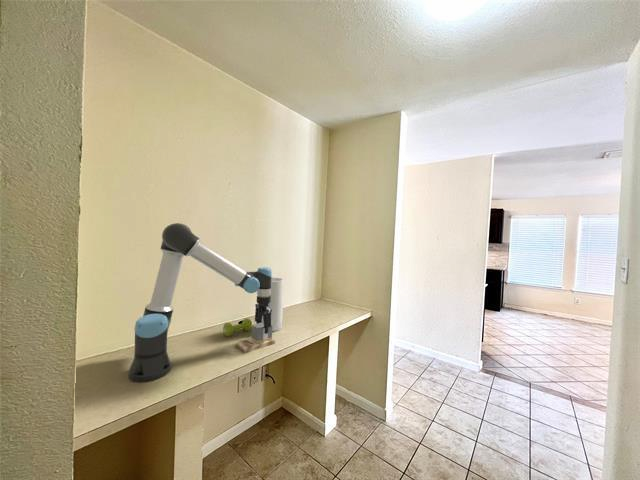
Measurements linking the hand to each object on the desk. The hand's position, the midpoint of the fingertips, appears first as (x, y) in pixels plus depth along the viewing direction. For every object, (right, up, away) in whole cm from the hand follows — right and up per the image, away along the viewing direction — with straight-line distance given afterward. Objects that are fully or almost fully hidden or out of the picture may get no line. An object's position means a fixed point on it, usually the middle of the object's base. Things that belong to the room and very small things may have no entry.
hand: (262, 336), depth 146 cm
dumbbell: (-18, -3, +12) cm, 22 cm away
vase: (0, -3, +22) cm, 23 cm away
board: (-3, -4, -2) cm, 5 cm away
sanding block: (0, -1, 0) cm, 1 cm away
